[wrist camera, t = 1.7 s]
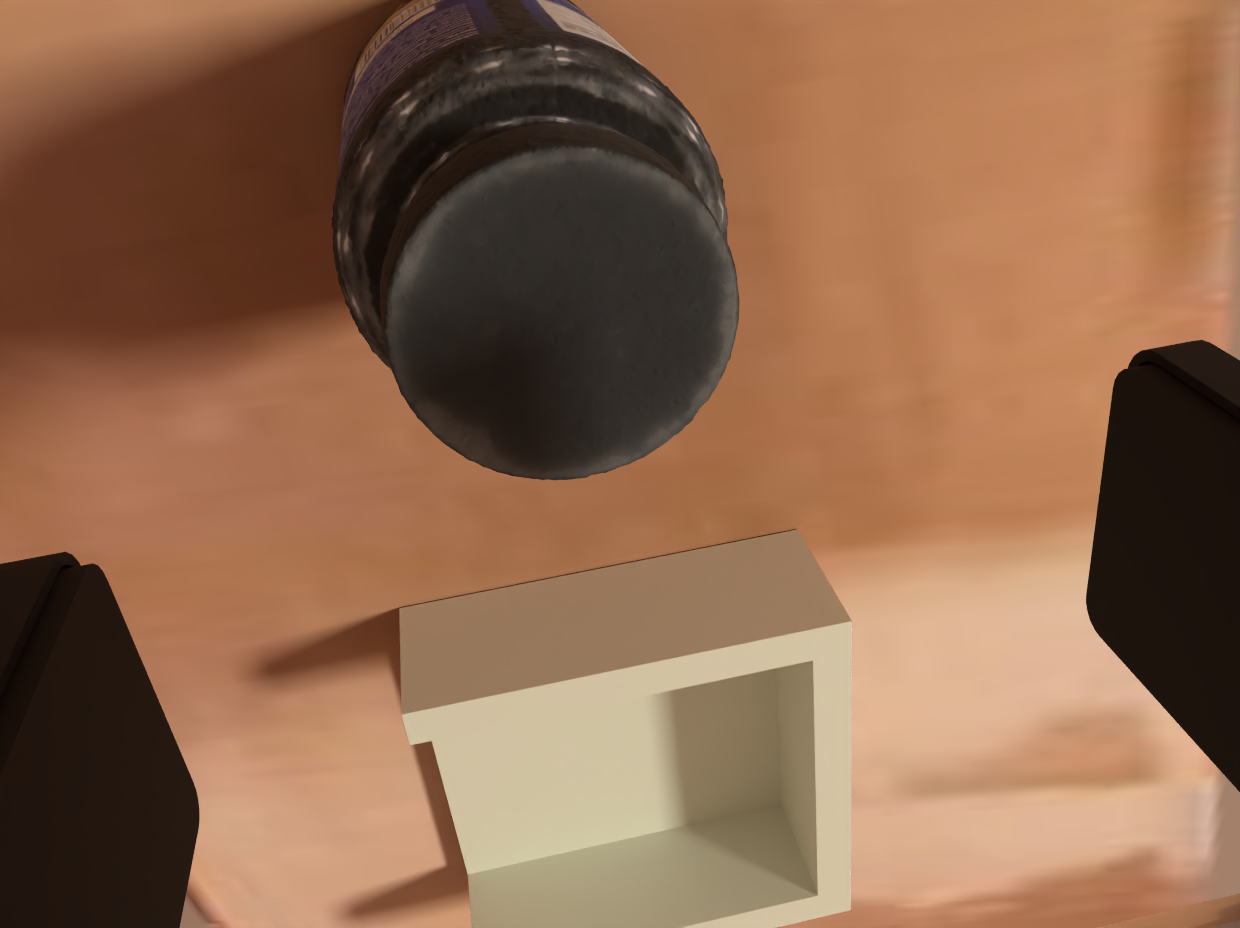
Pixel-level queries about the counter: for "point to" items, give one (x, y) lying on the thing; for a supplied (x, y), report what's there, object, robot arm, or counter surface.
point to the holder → (644, 740)
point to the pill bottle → (531, 236)
